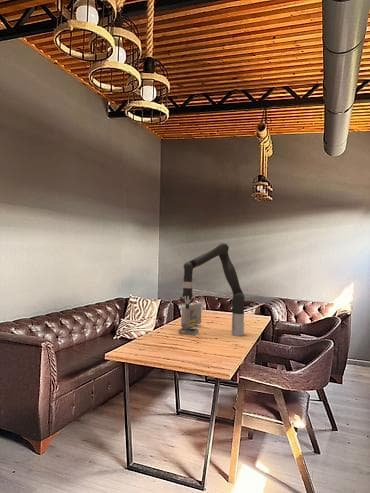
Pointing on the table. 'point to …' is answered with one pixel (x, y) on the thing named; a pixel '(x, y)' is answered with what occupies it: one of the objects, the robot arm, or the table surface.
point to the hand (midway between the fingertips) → (187, 308)
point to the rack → (189, 331)
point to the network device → (191, 315)
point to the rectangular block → (185, 325)
